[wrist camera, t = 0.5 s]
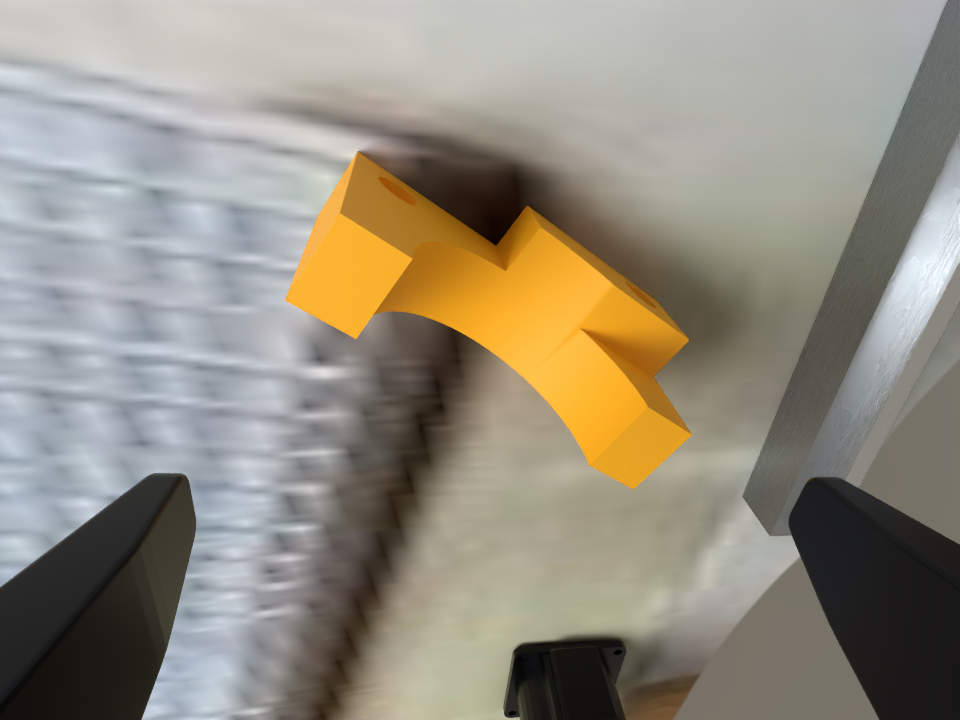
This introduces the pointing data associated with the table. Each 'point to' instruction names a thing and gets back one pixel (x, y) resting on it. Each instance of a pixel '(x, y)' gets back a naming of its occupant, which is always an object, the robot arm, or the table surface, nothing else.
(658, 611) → the table surface
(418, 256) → the pipe clamp
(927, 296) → the rail
